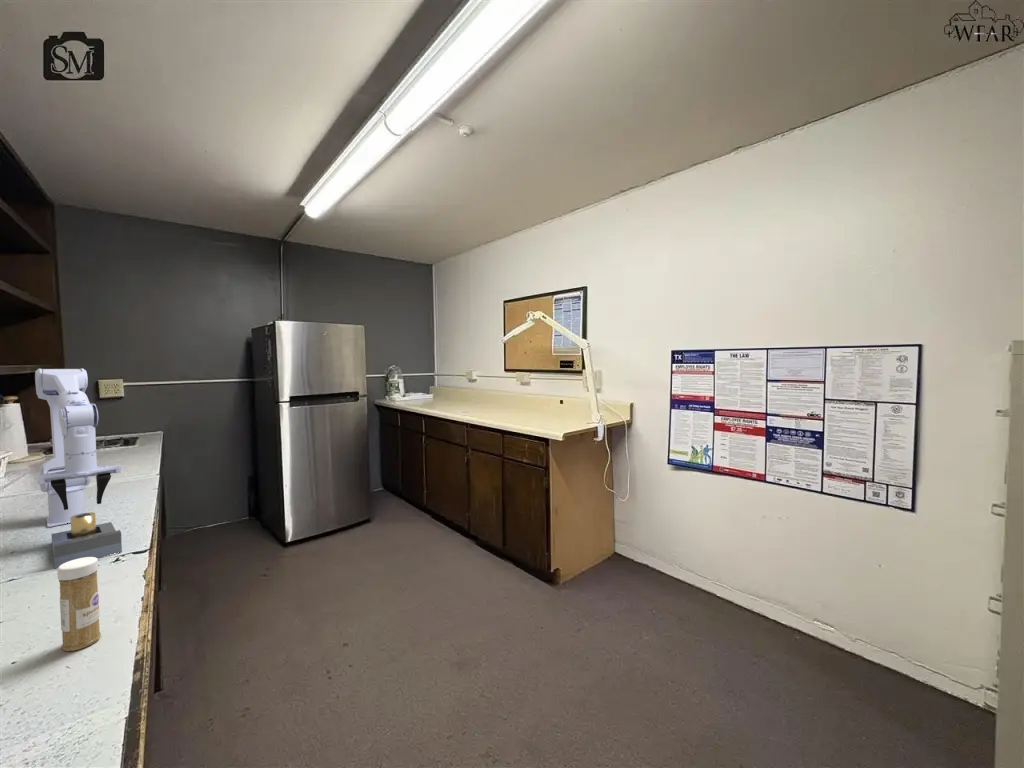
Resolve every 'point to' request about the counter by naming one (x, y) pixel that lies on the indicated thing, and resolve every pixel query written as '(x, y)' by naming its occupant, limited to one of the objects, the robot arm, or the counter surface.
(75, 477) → the robot arm
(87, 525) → the bushing
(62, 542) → the plate
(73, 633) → the sprinkles bottle
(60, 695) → the counter surface
